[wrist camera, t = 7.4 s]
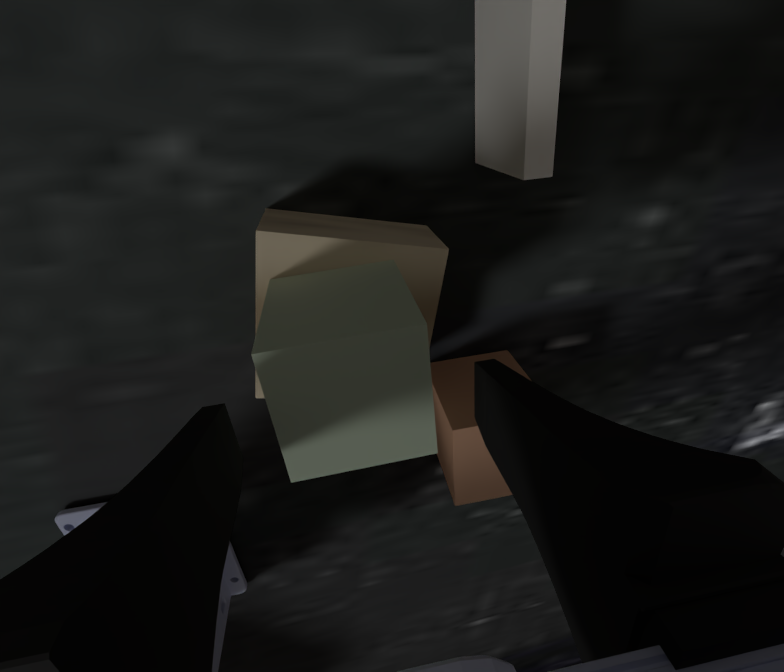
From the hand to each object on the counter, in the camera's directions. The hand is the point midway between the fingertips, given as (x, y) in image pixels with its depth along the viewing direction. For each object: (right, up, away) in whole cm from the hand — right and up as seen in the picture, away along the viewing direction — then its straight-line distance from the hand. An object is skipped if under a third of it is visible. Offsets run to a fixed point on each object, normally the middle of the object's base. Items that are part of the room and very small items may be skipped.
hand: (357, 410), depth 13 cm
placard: (+5, +12, +5) cm, 14 cm away
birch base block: (-1, +4, +8) cm, 9 cm away
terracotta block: (+5, -1, +12) cm, 13 cm away
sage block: (-1, +3, +5) cm, 5 cm away
